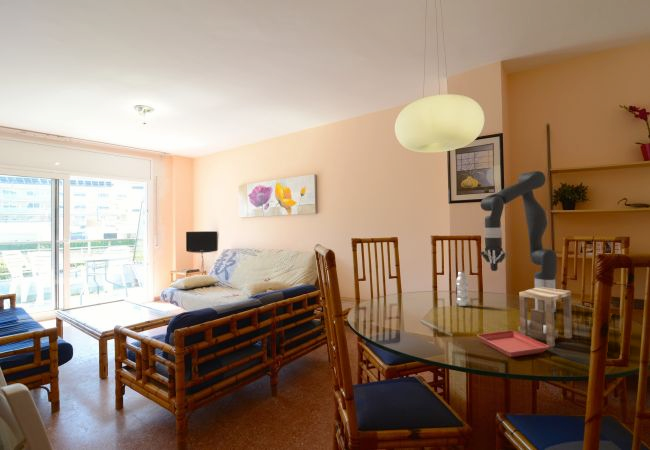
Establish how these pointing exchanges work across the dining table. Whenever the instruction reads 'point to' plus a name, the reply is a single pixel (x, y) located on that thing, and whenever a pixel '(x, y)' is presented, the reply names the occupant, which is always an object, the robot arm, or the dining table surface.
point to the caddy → (537, 326)
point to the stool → (549, 296)
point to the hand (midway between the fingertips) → (494, 270)
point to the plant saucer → (512, 343)
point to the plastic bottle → (462, 289)
